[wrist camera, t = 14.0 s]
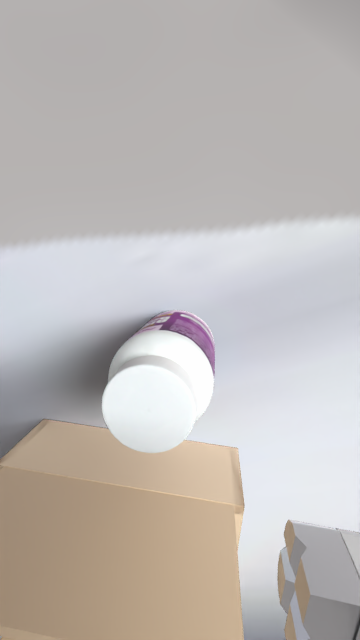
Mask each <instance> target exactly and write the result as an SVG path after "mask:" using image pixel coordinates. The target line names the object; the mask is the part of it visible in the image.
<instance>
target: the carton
mask: <svg viewBox="0 0 360 640" xmlns="http://www.w3.org/2000/svg"><path fill="white" fill-rule="evenodd" d="M243 512H244V497H243V489H242V480H241V471H240V463H239V454H238V448H233V447H227V446H220V445H213V444H207V443H200V442H194V441H187V440H184V441H183V442H181V443H180V444H179V445H178V446H176V447H174V448H172V449H170V450H168V451H164V452H159V453H145V452H140V451H136V450H133V449H131V448H129V447H127V446H125V445H123V444H122V443H121V442H120V441H119V440H118V439H116V438H115V437H114V436H113V434H112V433H111V432H110V430H109V429H107V428H101V427H94V426H88V425H81V424H74V423H68V422H61V421H54V420H48V419H43V420H42V421H41V422H40V423H39V424H38V425H37V426H36V427H35V428H34V429H32V430H31V431H30V432H29V433H28V434H27V435H26V436H25V437H24V438H23V439H22V440H21V441H20V442H18V443H17V444H16V445H15V446H14V447H13V448H12V449H11V450H10V451H9V452H8V453H7V454H6V455H5V456H3V457H2V458H1V459H0V636H2V638H1V639H0V640H244V637H243V623H242V609H241V596H240V582H239V569H238V555H237V550H238V544H239V538H240V531H241V525H242V519H243Z"/></svg>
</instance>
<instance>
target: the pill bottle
mask: <svg viewBox="0 0 360 640" xmlns="http://www.w3.org/2000/svg"><path fill="white" fill-rule="evenodd" d="M214 369H215V343H214V338H213V335H212V333H211V330H210V328H209V327H208V326H207V324H206V323H205V322H204V321H203V320H202V319H200V318H199V317H198V316H196V315H194V314H192V313H190V312H187V311H183V310H170V311H166V312H163V313H161V314H158V315H157V316H155V317H154V318H152V319H151V320H150V321H149V322H147V323H146V324H145V325H144V326H143V327H142V328H141V329H140V330H138V331H137V332H136V333H135V334H134V335H133V336H132V337H131V338H130V339H128V340H127V341H126V342H125V343H124V344H123V345H122V346H121V347H120V348H119V350H118V351H117V353H116V354H115V356H114V358H113V360H112V362H111V365H110V369H109V374H108V384H107V386H106V387H105V390H104V393H103V396H102V414H103V418H104V421H105V423H106V426H107V427H108V429H109V430H110V432H111V433H112V434H113V436H114V437H115V438H116V439H118V440H119V441H120V442H121V443H122V444H123V445H125V446H127V447H129V448H131V449H133V450H136V451H140V452H145V453H159V452H164V451H168V450H170V449H172V448H174V447H176V446H178V445H179V444H180V443H181V442H183V441H184V440H185V439H186V438H187V436H188V435H189V433H190V431H191V430H192V428H193V425H194V422H196V421H197V420H198V419H199V418H200V417H201V416H202V414H203V413H204V412H205V410H206V409H207V407H208V405H209V403H210V400H211V397H212V394H213V389H214V374H215V371H214Z"/></svg>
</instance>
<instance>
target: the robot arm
mask: <svg viewBox="0 0 360 640" xmlns="http://www.w3.org/2000/svg"><path fill="white" fill-rule="evenodd" d="M284 537H285V542H286V547H284V548H283V549H282V550H280V556H279V561H278V591H279V598H280V604H281V606H282V607H283V609H284V610H285V612H286V613H287V620H286V625H285V629H284V630H285V637H286V640H360V533H359V532H354V531H348V530H343V529H337V528H336V529H334V528H330V527H325V526H320V525H315V524H309V523H304V522H299V521H294V520H288V521H287V523H286V526H285V531H284Z"/></svg>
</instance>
